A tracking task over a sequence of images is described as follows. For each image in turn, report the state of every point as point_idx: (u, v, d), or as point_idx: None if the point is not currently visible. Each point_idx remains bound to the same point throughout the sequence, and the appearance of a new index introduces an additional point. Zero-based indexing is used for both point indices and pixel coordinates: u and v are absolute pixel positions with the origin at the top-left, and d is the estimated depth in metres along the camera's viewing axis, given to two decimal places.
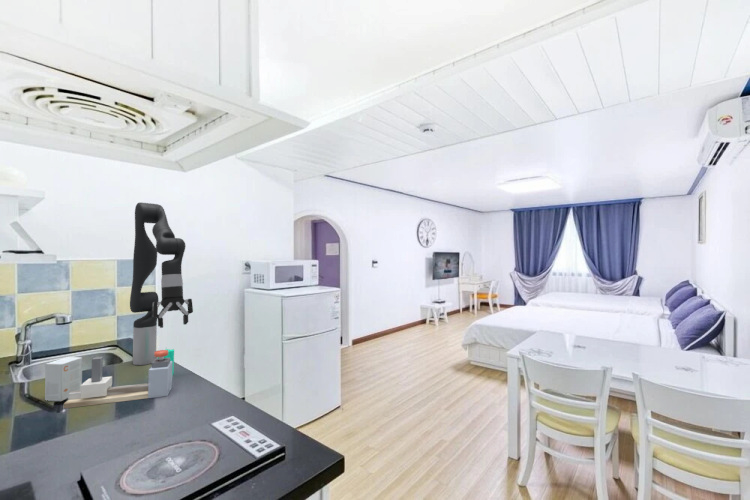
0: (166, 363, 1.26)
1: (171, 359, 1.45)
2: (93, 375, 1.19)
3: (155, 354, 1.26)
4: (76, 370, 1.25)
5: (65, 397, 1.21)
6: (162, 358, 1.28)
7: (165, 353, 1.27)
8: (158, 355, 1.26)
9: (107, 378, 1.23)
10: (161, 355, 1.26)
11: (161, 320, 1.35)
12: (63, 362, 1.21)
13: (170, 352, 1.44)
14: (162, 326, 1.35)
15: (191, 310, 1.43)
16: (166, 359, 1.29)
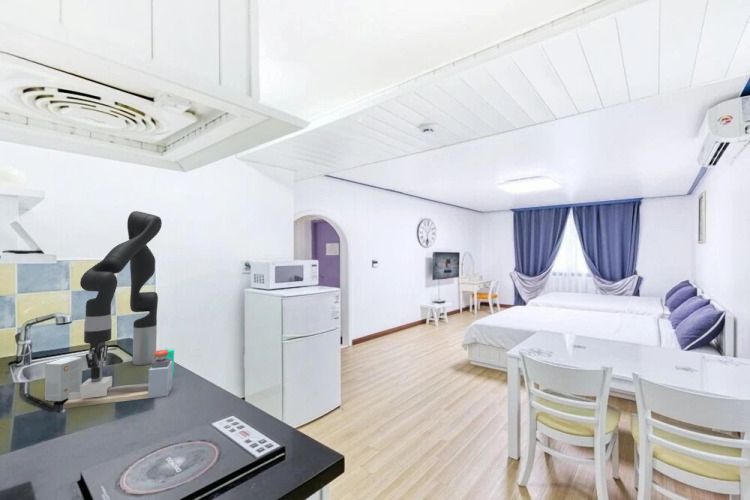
0: (166, 363, 1.26)
1: (171, 359, 1.45)
2: None
3: (155, 354, 1.26)
4: (76, 370, 1.25)
5: (65, 397, 1.21)
6: (162, 358, 1.28)
7: (165, 353, 1.27)
8: (158, 355, 1.26)
9: (107, 378, 1.23)
10: (161, 355, 1.26)
11: None
12: (63, 362, 1.21)
13: (170, 352, 1.44)
14: None
15: None
16: (166, 359, 1.29)
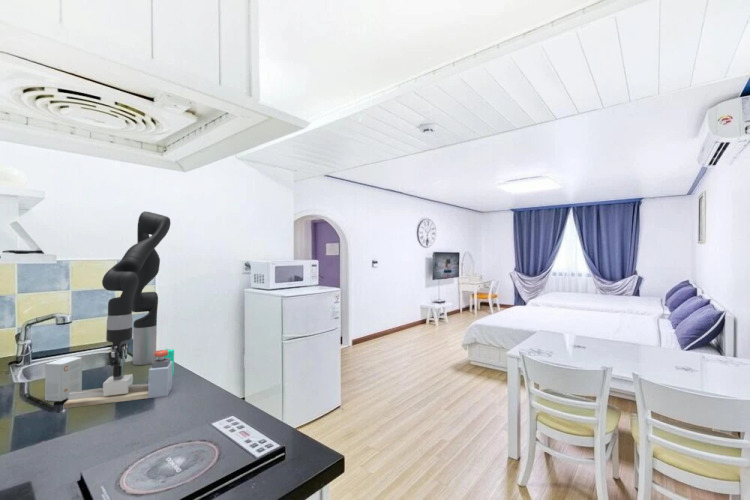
0: (166, 363, 1.26)
1: (171, 359, 1.45)
2: None
3: (155, 354, 1.26)
4: (76, 370, 1.25)
5: (65, 397, 1.21)
6: (162, 358, 1.28)
7: (165, 353, 1.27)
8: (158, 355, 1.26)
9: (128, 376, 1.25)
10: (161, 355, 1.26)
11: None
12: (63, 362, 1.21)
13: (170, 352, 1.44)
14: None
15: None
16: (166, 359, 1.29)
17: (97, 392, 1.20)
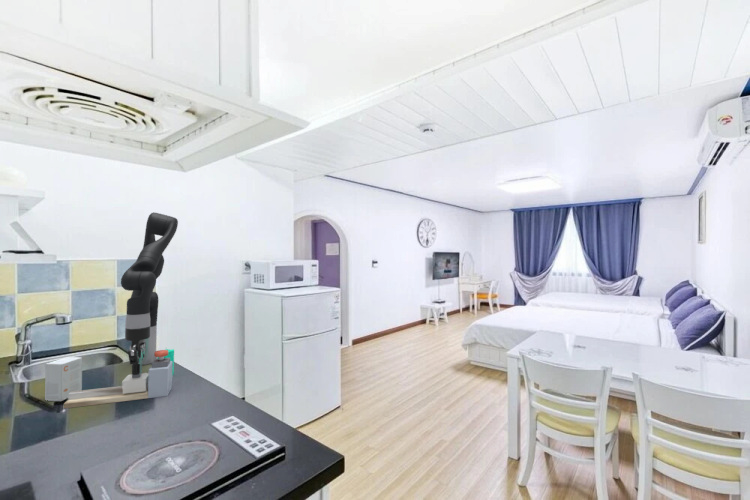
0: (166, 363, 1.26)
1: (171, 359, 1.45)
2: None
3: (155, 354, 1.26)
4: (76, 370, 1.25)
5: (65, 397, 1.21)
6: (162, 358, 1.28)
7: (165, 353, 1.27)
8: (158, 355, 1.26)
9: (146, 374, 1.27)
10: (161, 355, 1.26)
11: None
12: (63, 362, 1.21)
13: (170, 352, 1.44)
14: None
15: None
16: (166, 359, 1.29)
17: (97, 392, 1.20)
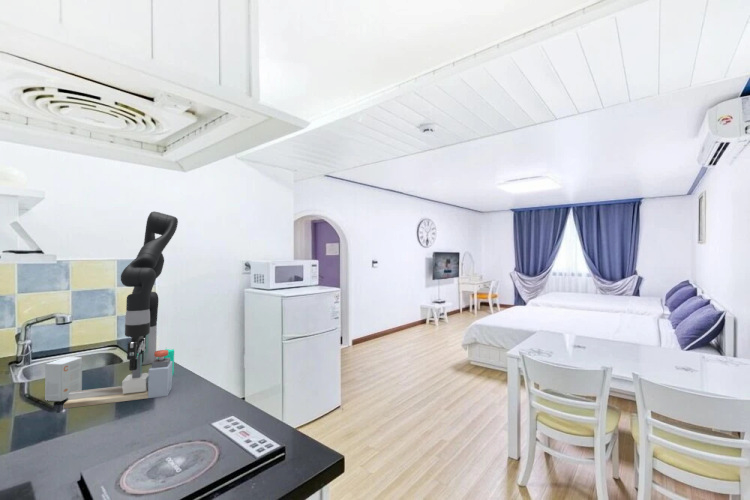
0: (166, 363, 1.26)
1: (171, 359, 1.45)
2: (134, 371, 1.24)
3: (155, 354, 1.26)
4: (76, 370, 1.25)
5: (65, 397, 1.21)
6: (162, 358, 1.28)
7: (165, 353, 1.27)
8: (158, 355, 1.26)
9: (146, 374, 1.27)
10: (161, 355, 1.26)
11: None
12: (63, 362, 1.21)
13: (170, 352, 1.44)
14: None
15: None
16: (166, 359, 1.29)
17: (97, 392, 1.20)
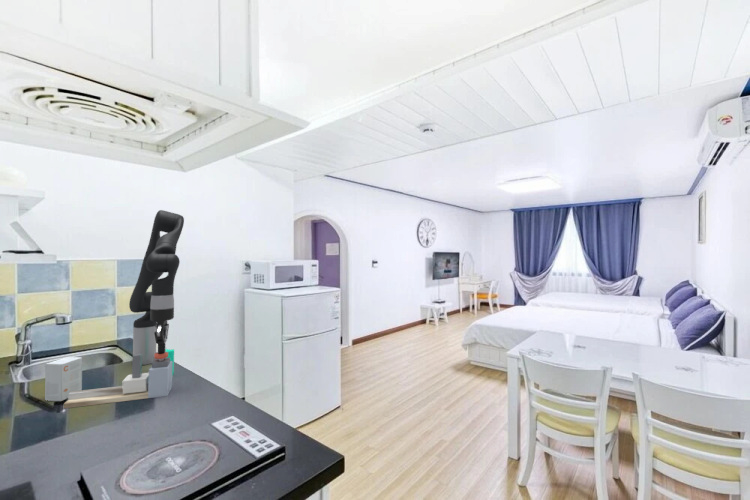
0: (166, 363, 1.26)
1: (171, 359, 1.45)
2: (134, 371, 1.24)
3: (155, 356, 1.26)
4: (76, 370, 1.25)
5: (65, 397, 1.21)
6: (162, 360, 1.28)
7: (165, 355, 1.27)
8: (158, 357, 1.26)
9: (146, 374, 1.27)
10: (161, 357, 1.26)
11: None
12: (63, 362, 1.21)
13: (170, 352, 1.44)
14: (158, 352, 1.28)
15: (155, 341, 1.25)
16: (166, 359, 1.29)
17: (97, 392, 1.20)
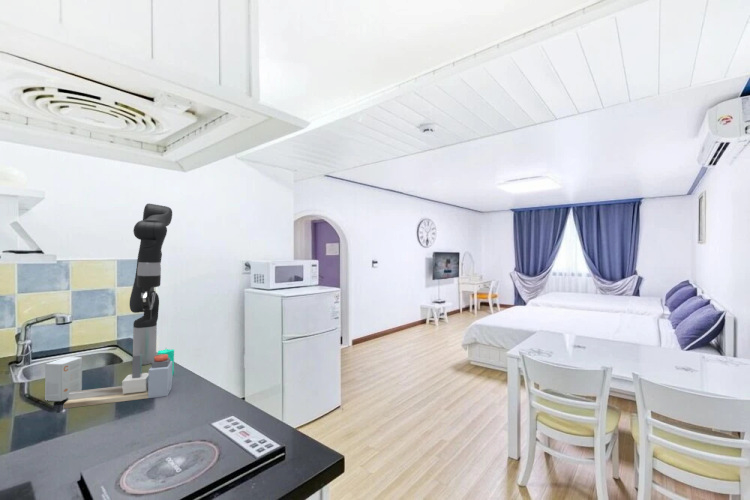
0: (166, 363, 1.26)
1: (171, 359, 1.45)
2: (134, 371, 1.24)
3: (155, 358, 1.26)
4: (76, 370, 1.25)
5: (65, 397, 1.21)
6: None
7: (165, 357, 1.27)
8: (158, 359, 1.26)
9: (146, 374, 1.27)
10: (161, 359, 1.26)
11: None
12: (63, 362, 1.21)
13: (170, 352, 1.44)
14: (144, 318, 1.30)
15: None
16: None
17: (97, 392, 1.20)
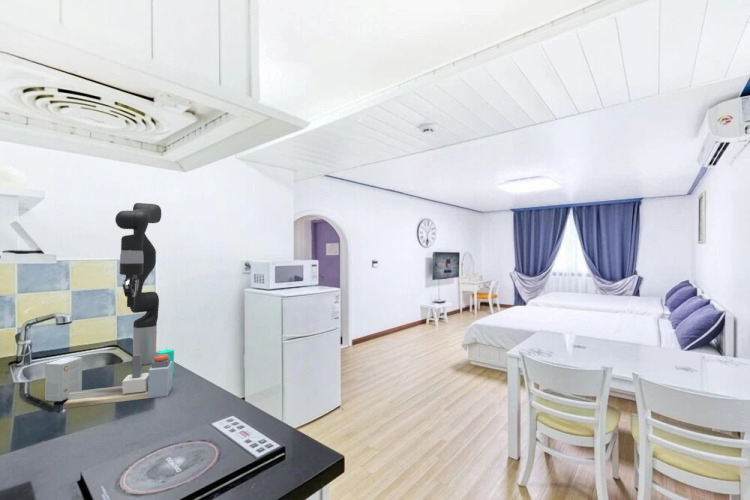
0: (166, 363, 1.26)
1: (171, 359, 1.45)
2: (134, 371, 1.24)
3: (155, 358, 1.26)
4: (76, 370, 1.25)
5: (65, 397, 1.21)
6: None
7: (165, 357, 1.27)
8: (158, 359, 1.26)
9: (146, 374, 1.27)
10: (161, 359, 1.26)
11: None
12: (63, 362, 1.21)
13: (170, 352, 1.44)
14: None
15: None
16: None
17: (97, 392, 1.20)
